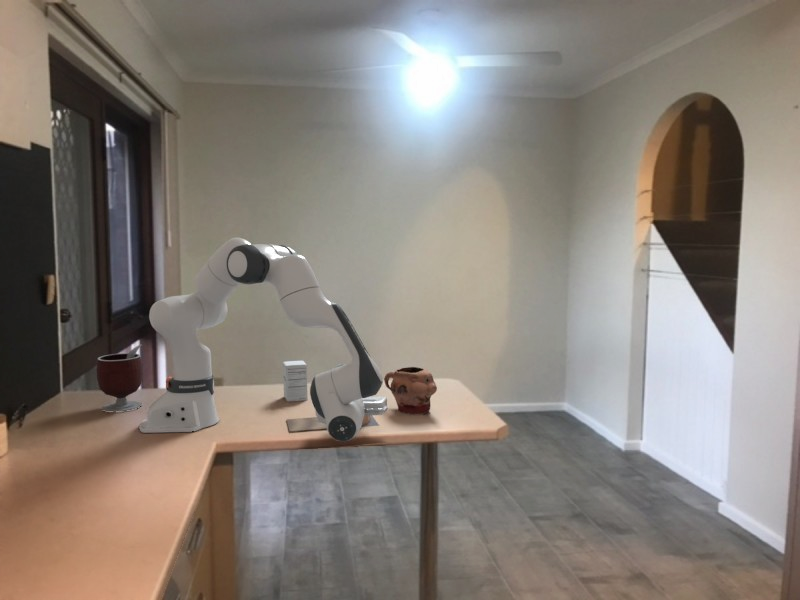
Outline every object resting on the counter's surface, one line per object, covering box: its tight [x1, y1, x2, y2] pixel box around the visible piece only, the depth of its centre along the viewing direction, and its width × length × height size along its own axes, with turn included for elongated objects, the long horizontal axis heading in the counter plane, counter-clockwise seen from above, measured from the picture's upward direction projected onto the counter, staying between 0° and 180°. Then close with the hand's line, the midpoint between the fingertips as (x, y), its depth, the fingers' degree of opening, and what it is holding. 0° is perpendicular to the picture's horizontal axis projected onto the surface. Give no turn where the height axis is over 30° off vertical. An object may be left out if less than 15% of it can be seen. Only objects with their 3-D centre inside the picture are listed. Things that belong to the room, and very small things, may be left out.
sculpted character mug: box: [383, 366, 438, 415], centre depth 201 cm, size 20×12×14 cm, turn 59°
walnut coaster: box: [286, 416, 327, 433], centre depth 186 cm, size 12×12×1 cm
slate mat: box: [361, 415, 380, 428], centre depth 189 cm, size 12×12×1 cm
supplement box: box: [282, 360, 309, 402], centre depth 218 cm, size 7×7×13 cm
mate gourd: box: [96, 344, 144, 412], centre depth 208 cm, size 16×14×20 cm
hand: (353, 397), depth 184 cm, fingers open, 8 cm apart
